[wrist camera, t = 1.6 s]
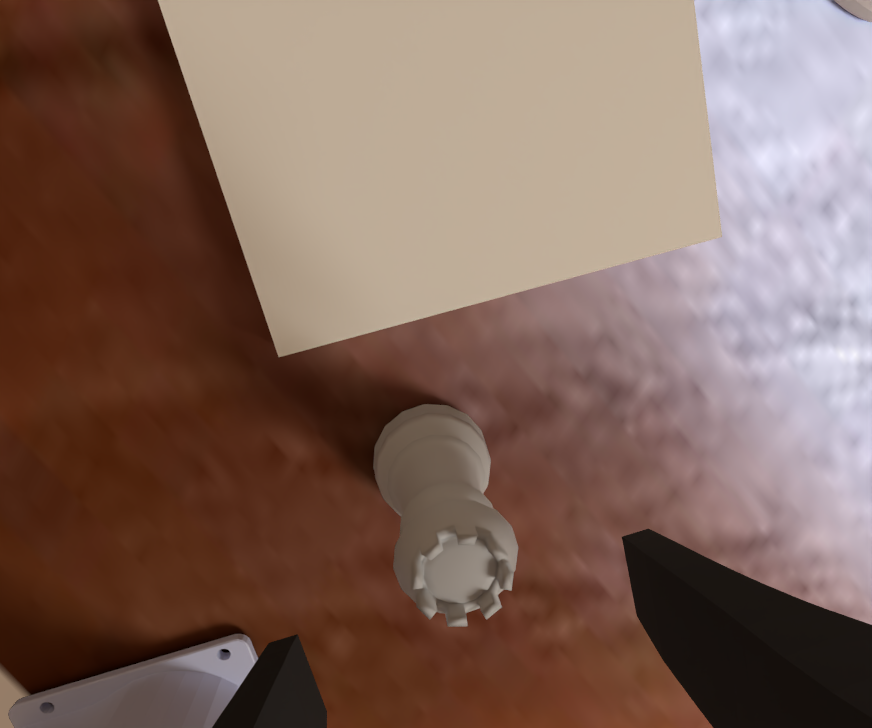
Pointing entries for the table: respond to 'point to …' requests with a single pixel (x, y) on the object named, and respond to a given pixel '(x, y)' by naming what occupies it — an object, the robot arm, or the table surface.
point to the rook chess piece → (444, 513)
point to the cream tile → (444, 147)
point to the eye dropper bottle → (858, 8)
